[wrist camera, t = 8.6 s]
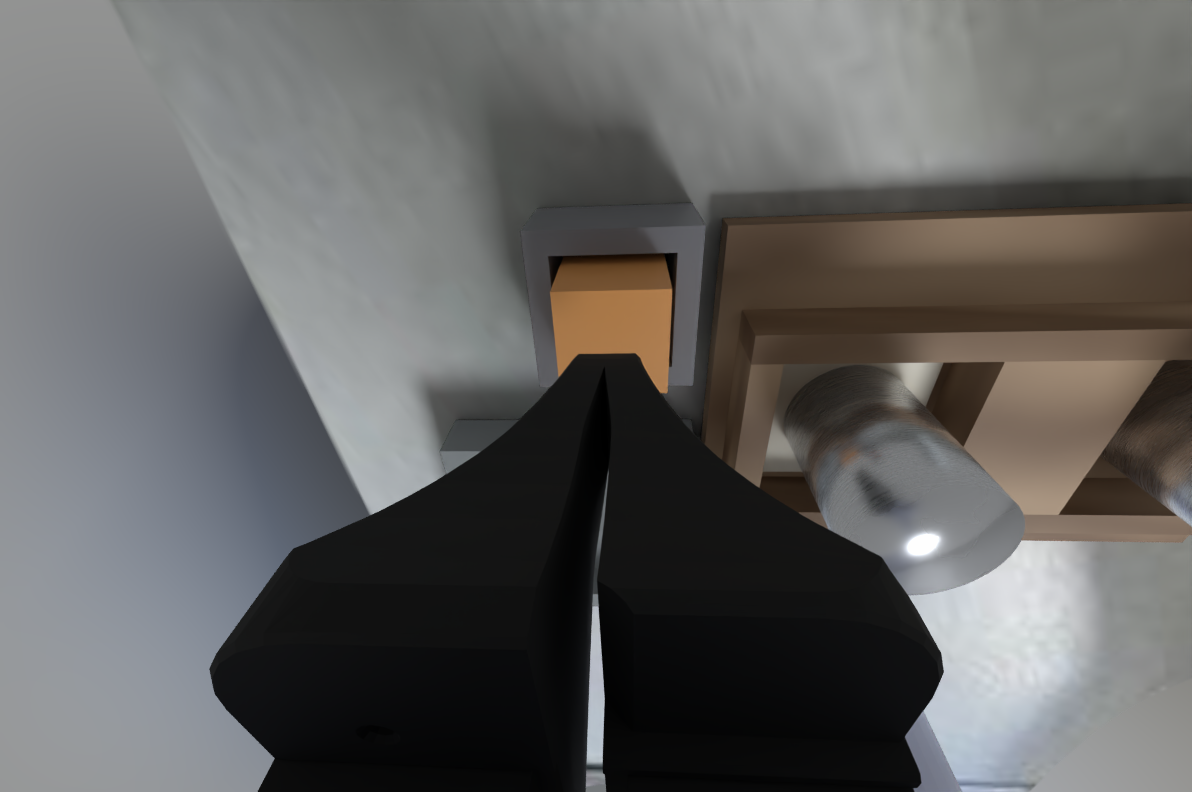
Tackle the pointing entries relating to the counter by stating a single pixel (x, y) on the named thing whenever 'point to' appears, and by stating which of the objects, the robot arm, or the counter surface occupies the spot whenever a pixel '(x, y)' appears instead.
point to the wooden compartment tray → (962, 343)
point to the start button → (614, 310)
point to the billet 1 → (899, 480)
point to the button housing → (617, 234)
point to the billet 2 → (1160, 440)
